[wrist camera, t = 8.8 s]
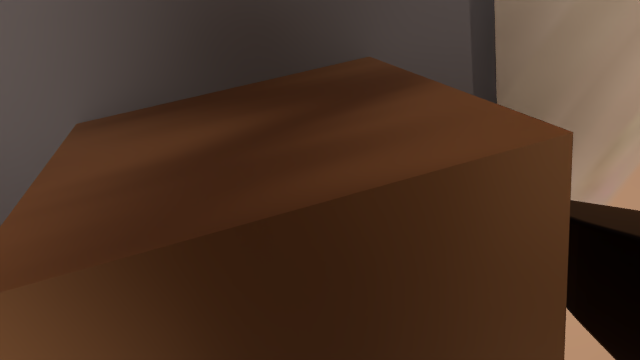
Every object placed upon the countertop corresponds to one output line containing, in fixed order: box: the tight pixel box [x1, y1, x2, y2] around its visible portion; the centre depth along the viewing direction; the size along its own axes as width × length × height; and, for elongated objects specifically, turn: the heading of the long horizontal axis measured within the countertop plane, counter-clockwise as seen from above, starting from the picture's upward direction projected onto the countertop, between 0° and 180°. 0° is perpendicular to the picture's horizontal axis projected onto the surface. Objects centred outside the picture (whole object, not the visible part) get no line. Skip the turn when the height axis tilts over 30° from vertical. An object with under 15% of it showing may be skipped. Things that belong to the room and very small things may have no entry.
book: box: [0, 0, 497, 226], centre depth 13 cm, size 12×16×4 cm
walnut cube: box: [0, 57, 573, 360], centre depth 8 cm, size 6×6×6 cm
